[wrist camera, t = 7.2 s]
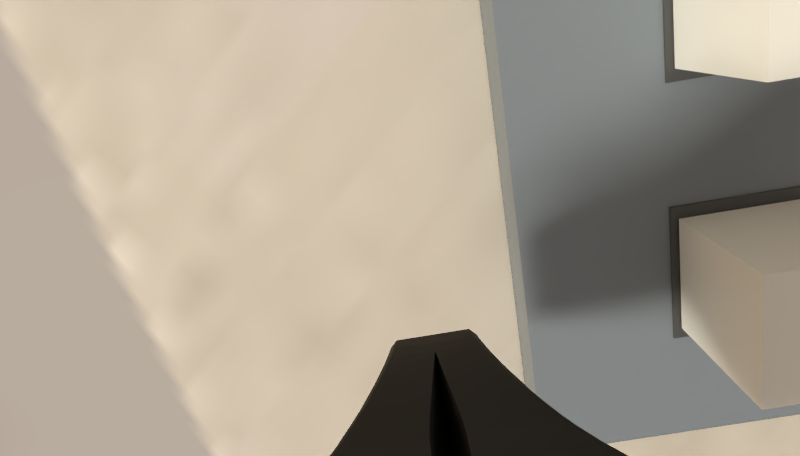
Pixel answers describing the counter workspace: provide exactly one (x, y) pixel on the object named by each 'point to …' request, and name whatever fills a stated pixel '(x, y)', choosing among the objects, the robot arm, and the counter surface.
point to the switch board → (623, 204)
